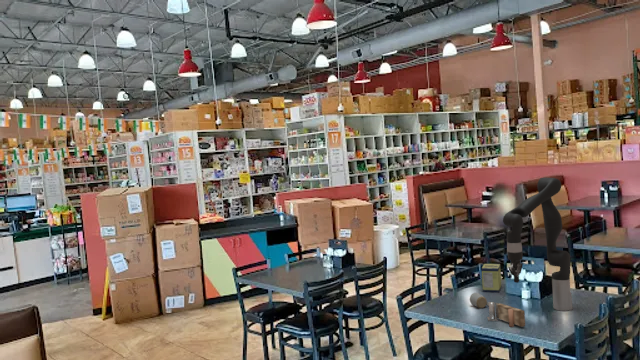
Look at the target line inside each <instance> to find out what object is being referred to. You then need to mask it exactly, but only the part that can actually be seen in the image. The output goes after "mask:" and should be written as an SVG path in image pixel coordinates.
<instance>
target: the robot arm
mask: <svg viewBox="0 0 640 360" xmlns="http://www.w3.org/2000/svg"><path fill="white" fill-rule="evenodd" d="M536 186H537V192H538V193H536V194H534V195H532V196H529V197H528V198H526V199H525V200H523V201H522V202H521V203H520V204H519V205H518V206H517V207H515V208H512V209H511V210H509V211H508V212H506V213H505V214H504V216H503V218H502V223H503V224H504V225H505V226H507V227H511V230H510V231H507V233H506V239H507V240H506V243H507V244H506V248H507V249H506V251H507V259H508V260H509V261H510V262H509V264H510V266H508V271H509V273H510V275H511V276H513V282H514V283H515V284H518V283H520V274H521V273H522V269H523V265H524V264H523V262H521V261H522V260H523V259H524V256H523V245H522V231H523V227H524V219H523V218H527V217H528V216H529V215H531V213H532V212H533V211H535V210H536V209H537V208H538V207H539V206H540V205H541V211H542V217H543V218H542V219H543V225H544V226H543V227H544V231H545V241H546V257H547V258H546V260H547V263H548V264H549V266H552V267H558V268H559V270H558V271H554V272H552V273H551V285H552V286H551V287H552V302H553V303H552V306H553V309H554V310H556V311H562V312H565V311H566V312H567V311H572V310H573V295H572V292H571V280H570V279H571V278H570V277H571V254H570V253H569V251H567V250H560V249H557V240H558V238H559V236H560V234H561V233H562V232H563V231H562V230H563V221H562V216H561V213H560V211H559V209H558V208H557V207H556V206H555V204H554V202H553V199H552V198H553V197H554V196H555V195H558V193H559V192H560V191H561V189H562V182H561V180H560V179H558V178H555V177H540V178H539V179H538V182H537V185H536Z"/></svg>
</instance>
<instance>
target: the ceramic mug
mask: <svg viewBox="0 0 640 360" xmlns="http://www.w3.org/2000/svg"><path fill="white" fill-rule="evenodd" d="M469 302H470V304H471V305H473V306H474V307H476V308H479V309H483V308H485V307H486V306H488V307H489V301H488V300H487V298H486V297H485V296H483V295H482V294H481V293H478V292H473V293H472V294H470V296H469Z"/></svg>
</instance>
